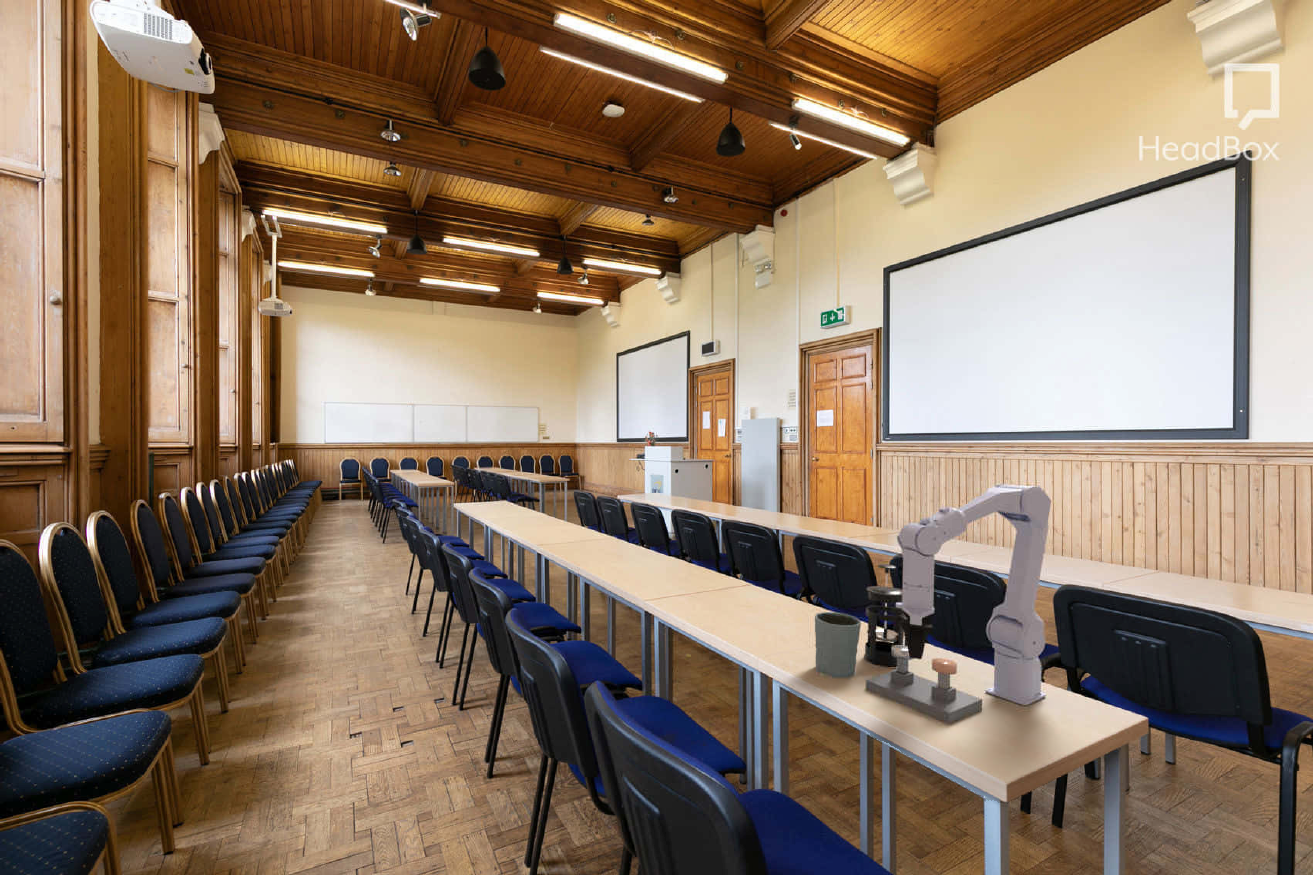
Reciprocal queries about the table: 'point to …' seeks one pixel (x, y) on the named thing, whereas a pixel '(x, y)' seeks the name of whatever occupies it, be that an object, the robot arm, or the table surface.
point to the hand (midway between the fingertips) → (916, 652)
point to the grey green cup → (836, 643)
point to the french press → (881, 649)
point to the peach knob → (944, 671)
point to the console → (924, 696)
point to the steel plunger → (901, 658)
